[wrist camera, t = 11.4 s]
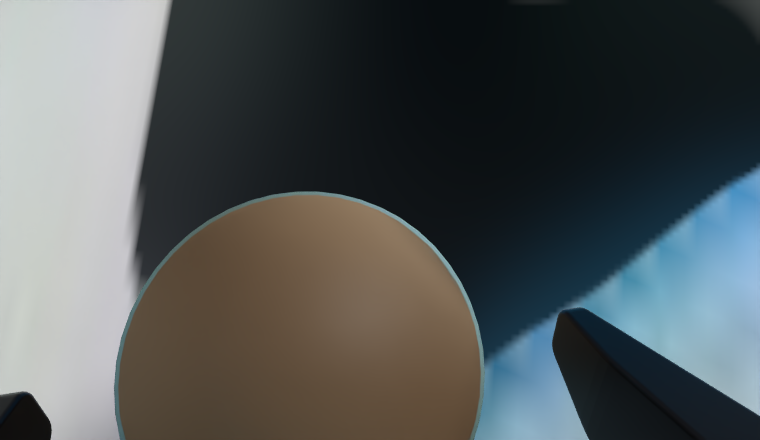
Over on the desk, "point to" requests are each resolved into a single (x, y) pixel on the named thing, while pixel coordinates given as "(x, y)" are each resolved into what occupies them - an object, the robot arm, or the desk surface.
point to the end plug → (301, 331)
